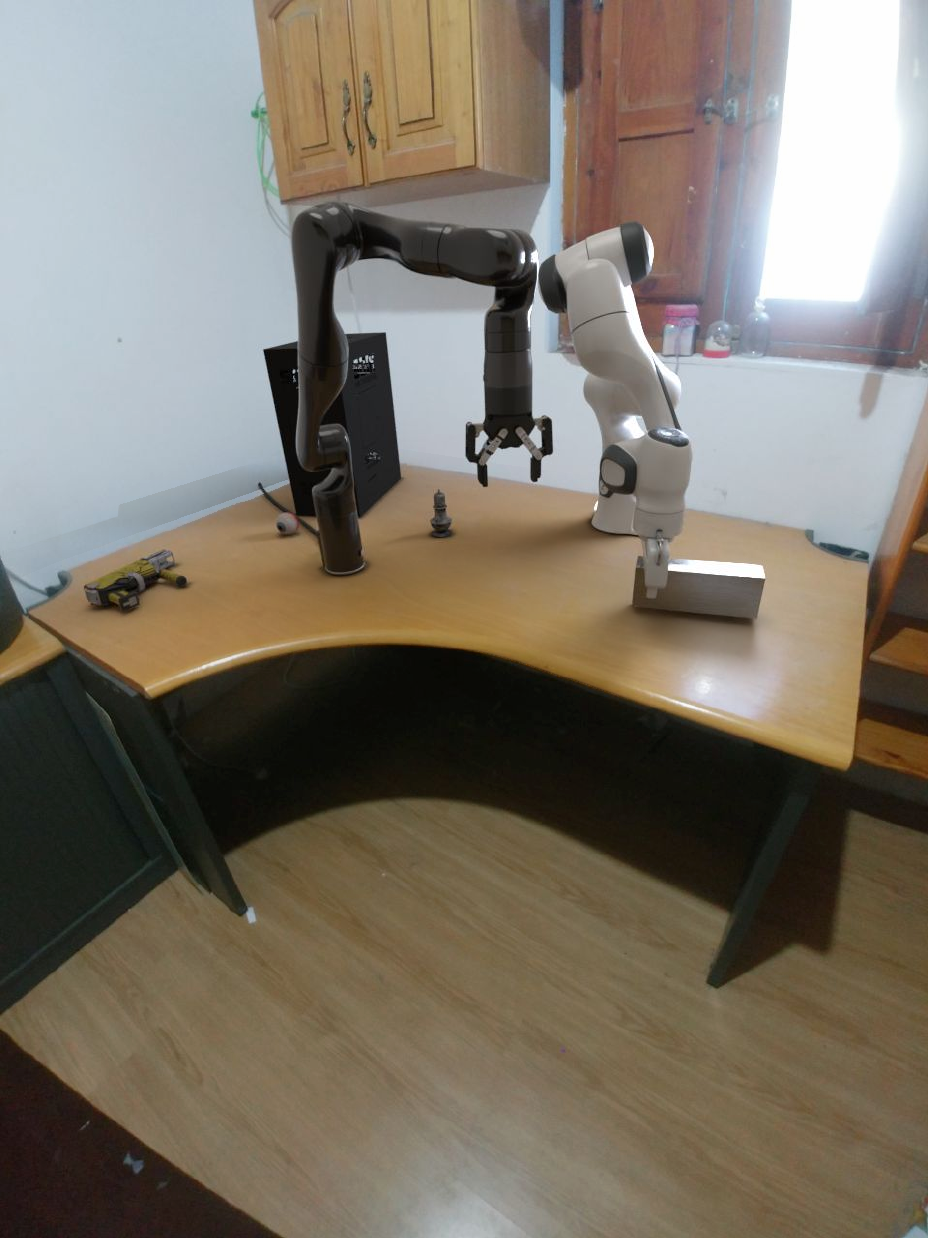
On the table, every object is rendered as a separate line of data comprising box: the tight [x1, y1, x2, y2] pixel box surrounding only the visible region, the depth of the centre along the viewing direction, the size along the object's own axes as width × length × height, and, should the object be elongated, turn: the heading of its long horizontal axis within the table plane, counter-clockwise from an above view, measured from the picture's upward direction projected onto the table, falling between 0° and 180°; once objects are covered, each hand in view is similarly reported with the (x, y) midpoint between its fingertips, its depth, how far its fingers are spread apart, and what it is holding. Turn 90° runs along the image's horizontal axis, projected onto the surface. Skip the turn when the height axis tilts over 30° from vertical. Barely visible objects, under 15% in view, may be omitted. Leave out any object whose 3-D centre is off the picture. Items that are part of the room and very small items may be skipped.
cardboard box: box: [262, 331, 402, 518], centre depth 180 cm, size 38×20×45 cm, turn 167°
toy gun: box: [83, 548, 188, 613], centre depth 139 cm, size 5×24×15 cm
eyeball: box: [275, 511, 300, 536], centre depth 163 cm, size 6×6×6 cm
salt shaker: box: [429, 488, 453, 538], centre depth 157 cm, size 6×6×12 cm
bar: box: [631, 555, 766, 620], centre depth 115 cm, size 22×6×8 cm, turn 72°
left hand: (509, 483), depth 102 cm, fingers open, 8 cm apart
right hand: (650, 587), depth 118 cm, fingers closed on bar, 6 cm apart
